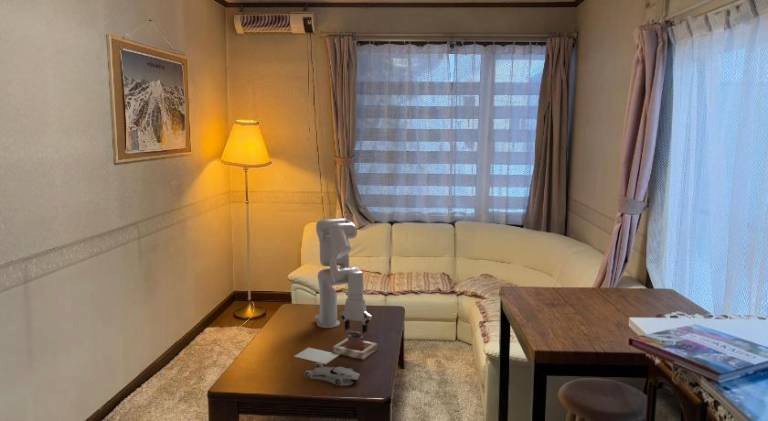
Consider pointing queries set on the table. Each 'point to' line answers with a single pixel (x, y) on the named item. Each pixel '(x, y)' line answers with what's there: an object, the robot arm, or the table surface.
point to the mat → (317, 355)
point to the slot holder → (342, 350)
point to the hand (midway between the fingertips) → (355, 330)
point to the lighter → (355, 341)
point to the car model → (333, 374)
